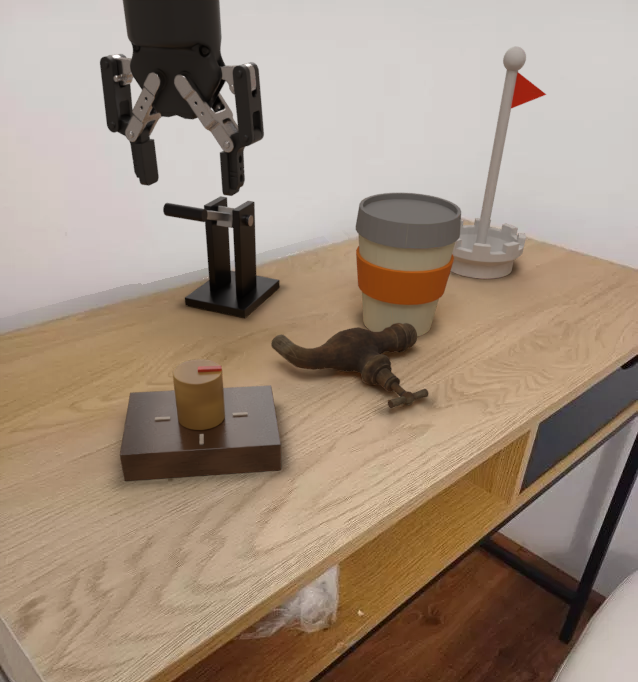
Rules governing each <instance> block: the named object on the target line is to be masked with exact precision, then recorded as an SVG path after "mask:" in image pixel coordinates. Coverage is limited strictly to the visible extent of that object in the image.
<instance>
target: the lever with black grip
mask: <svg viewBox="0 0 638 682" xmlns="http://www.w3.org/2000/svg"><path fill="white" fill-rule="evenodd" d="M235 208H236V207H231V206H228V207H223V206H219V207H218V212H216V211H208V210H206V209H204V208H202V207H195V206H189V205H183V204H177V203H171V202H166V203H164V205H163V207H162V212H163V215H164V216H166V217H172V218H176V219H183V220H188V221H194V222H201V223H205V221H206V220H207V219H208V220H217V225H218V226H224V227H229V229H233V218H232V210H233V209H235Z"/></svg>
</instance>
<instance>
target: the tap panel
mask: <svg viewBox="0 0 638 682" xmlns="http://www.w3.org/2000/svg"><path fill="white" fill-rule="evenodd" d="M223 389H224V404H225V418H224V420H223V421H222V423H221V424H219V425H218V426H216V427H213V428H211V429H206V430H192V429H188V428H186V427H184V426H182V425H181V424H180V423H179V421H178V416H177V408H176V399H175V391H174V389H173V390H155V391H153V390H152V391H135V392H134V391H133V392H130V393H129V397H128V402H127V408H126V414H125V421H124V427H123V433H122V439H121V444H120V445H121V446H120V451H119V458H120V463H121V468H122V474H123V479H124V481H125V482H128V481H131V482H132V481H142V480H159V479H173V478H186V477H201V476H214V475H229V474H243V473H256V472H271V471H272V472H273V471H274V472H275V471H281V470H282V441H281V436H280V430H279V424H278V423H279V422H278V419H277V418H278V417H277V412H276V406H275V399H274V393H273V387H272V385H251V386H249V385H248V386H231V387H223Z"/></svg>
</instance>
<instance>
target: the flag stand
mask: <svg viewBox="0 0 638 682" xmlns="http://www.w3.org/2000/svg"><path fill="white" fill-rule="evenodd" d="M526 61H527V53H526V52H525V50H524V48H523V47H521V46H512V47H510V48H508V49H507V50H506V51H505V53H504V55H503V58H502V64H503V67H504V68H505V70H506V72H505V77H504V83H503V88H502V94H501V101H500V105H499V112H498V115H497V116H498V117H497V122H496V127H495V132H494V140H493V145H492V149H491V151H492V152H491V156H490V161H489V167H488V171H487V177H486V185H485V188H484V195H483V200H482V206H481V212H480V216H479V217H477V218H476V217H475V218H474V222H473V224H464V223H465V222H464V220H463V219H462V218H461V226H460V237H459V239H458V240H457V241H456V242H455V245H454V249H453V252H452V254H453V257H454V261H453V264H452V268H451V271H450V273H454V274H456V275H460V276H461V277H462V276H463V277H467V278H473V279H483V280H487V279H488V280H489V279H498V278H503V277H506V276H508V275H510V274H511V273H512V271H513V267H514V261H515V260H516V259H518V258H520V257H521V256H522V255H523V254H524V249H525V244H526V240H527V235H526V233H523V232H518V230H519V227H518V226H515V225H512V224H510V223H506V222H505V223H503V224H502V225H501V228H498V227H493V226H491V222H492V219H491V217H492V212H493V206H494V203H495V197H496V190H497V186H498V181H499V175H500V170H501V165H502V159H503V154H504V149H505V148H504V147H505V143H506V138H507V132H508V128H509V122H510V118H511V112H512V109H514V108H516V107H519V106H521V105H524V104H526V103H529V102H531V101H534V100H536V99H539V98H541V97H544V96H547V93H545V91H543V90H542V89H540V88H539V87H538V86H537V85H535V84H534V83H532V82H531V81H530V80H529V79H527V78H526V77H525V76H523V75H522V74H521V72H519V71H520V70H521V69H522V68H523V67H524V66H525V64H526Z"/></svg>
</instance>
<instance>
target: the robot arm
mask: <svg viewBox="0 0 638 682" xmlns="http://www.w3.org/2000/svg"><path fill="white" fill-rule="evenodd" d="M122 6H123V14H124V20H125V21H124V22H125V28H126V35H127V39H128V41H129V42H130V44H131V46H132V53H131V57H127V56H126V55H125V54H124V53H118V54H117V53H116V54H115V53H114V54H109V55H105V56H102V57H101V58H100V60H99V68H100V77H101V84H102V85H101V86H102V94H103V103H104V111H105V121H106V127H107V129H108V131H109V132H111V133H113V134H115V133H118V134H120V135H121V136H124V137H125V138H126V139H127V140H128V141H129V144H130V145H129V146H130V151H131V158H132V165H133V171H134V174H135V176H136V178H137V179H138V180H139V183H140V185H142V186H152V185H153V184H156V183H158V181H159V177H160V176H159V167H158V160H157V159H158V158H157V151H156V144H155V143H156V142H155V139H154V138H151V135H152V133H153V131H154V129H155V127H156V126H157V124H158V122H159V120H160V119H161V118H170V117H175V116H177V117H180V118H182V119H185V120H195V119H198V120H199V122H200V123H201V125H202V127H203V128H204V129H205V130H207V131H208V132H210V133H211V134H212V136H213V137H214V139H215V140H216V142H217V143H218V145H219V147H220V148H221V149H222V151H220V152H219V163H220V164H219V165H220V176H221V177H220V178H221V179H220V180H221V191H222V195H223V196H226V197H227V196H229V197H232V196H234V195H236V194H237V193H239V192H240V191H241V190H240V189H241V188H242V187H244V185H245V181H246V176H245V175H246V174H245V156H244V154H245V153H244V152H245V148H246V147H249V146H251V145H253V144H256V143H258V142H260V141H261V140H263V139H264V136H265V130H264V129H265V128H264V116H263V105H262V103H263V102H262V93H261V80H260V69H259V66H258V65H257V64H256V63H255V62H253V61H250V62H247V63H243V64H238V65H237V64H233V65H232V64H231V65H226V64H225V62H224V59H223V56H222V51H221V50H222V49H221V48H222V20H221V4H220V0H122ZM133 79H134V80H135V82H136V83H137V85H138V87H139V88H140V89H141V91H140V94H139V96H138V98H137V100H136V102H135V104H134V106H133V99H132V87H131V84H132V83H133ZM226 83H227V84H228V88H229V91H230V93H231V94H233V95H234V101H235V111H236V121H235V119H234V113H233V111H232V110H231V107H230V106H229V105H228V103H227V101H226V100H225V99H224V97H223V96H222V94H221V91H222V89H223V88H224V85H225V84H226Z"/></svg>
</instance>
